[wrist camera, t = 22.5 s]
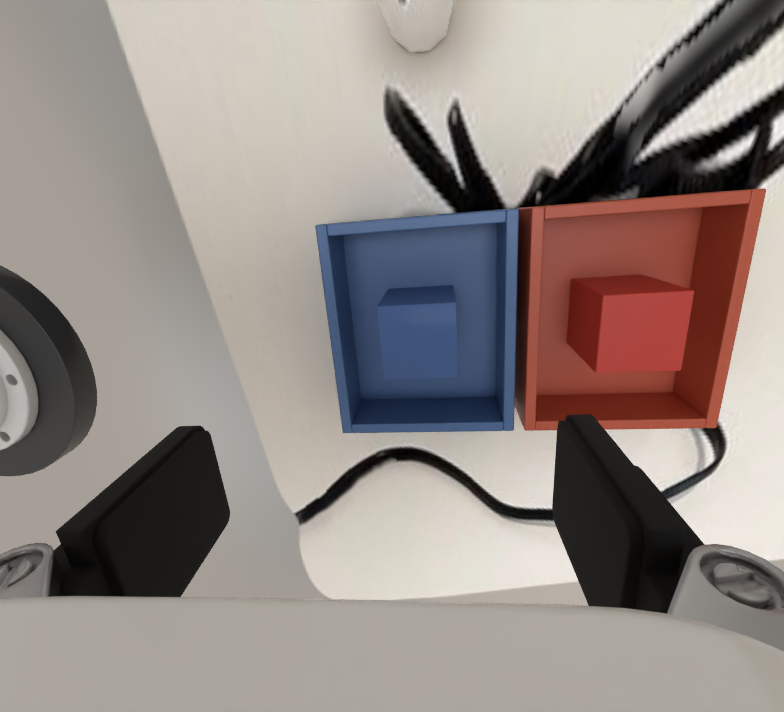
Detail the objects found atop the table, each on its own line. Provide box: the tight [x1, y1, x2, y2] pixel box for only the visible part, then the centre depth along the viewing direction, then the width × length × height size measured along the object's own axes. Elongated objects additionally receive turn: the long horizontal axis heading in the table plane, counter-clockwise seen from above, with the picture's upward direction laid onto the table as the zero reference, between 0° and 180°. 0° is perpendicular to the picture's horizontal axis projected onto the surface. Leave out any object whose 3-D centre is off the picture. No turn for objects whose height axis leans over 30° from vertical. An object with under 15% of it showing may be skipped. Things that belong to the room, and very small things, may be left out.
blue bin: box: [315, 209, 519, 433], centre depth 24 cm, size 10×12×4 cm
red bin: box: [514, 189, 766, 430], centre depth 23 cm, size 10×12×4 cm
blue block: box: [377, 285, 459, 379], centre depth 23 cm, size 4×4×5 cm
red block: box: [567, 275, 694, 373], centre depth 22 cm, size 4×4×5 cm
